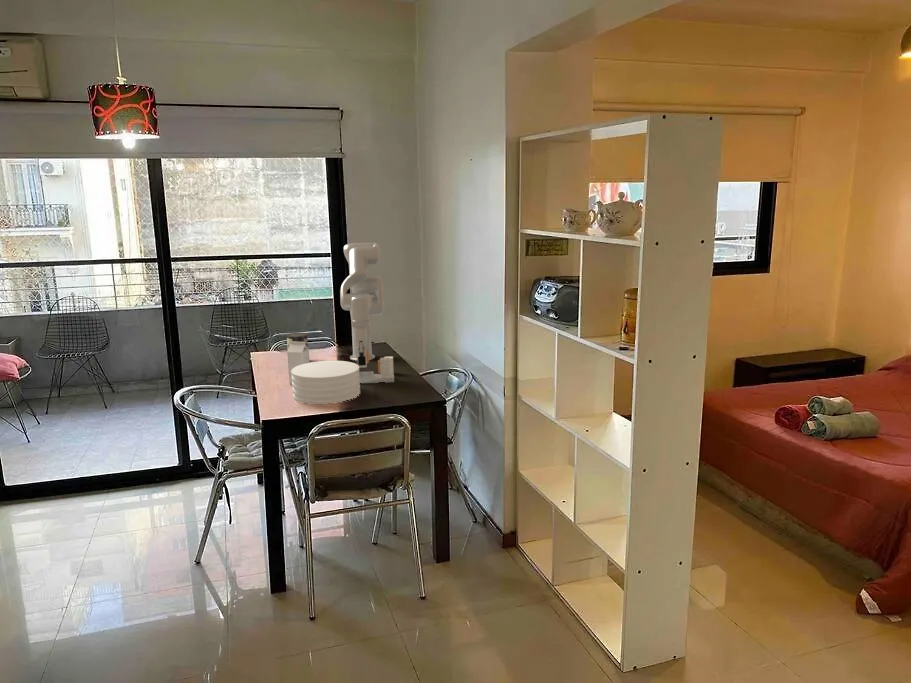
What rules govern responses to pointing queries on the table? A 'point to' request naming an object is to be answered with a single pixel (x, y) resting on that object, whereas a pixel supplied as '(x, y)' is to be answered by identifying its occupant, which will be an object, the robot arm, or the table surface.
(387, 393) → the table surface
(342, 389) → the plate stack
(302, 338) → the coffee can
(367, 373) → the rail
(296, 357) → the milk carton
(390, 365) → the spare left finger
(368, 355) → the right finger
